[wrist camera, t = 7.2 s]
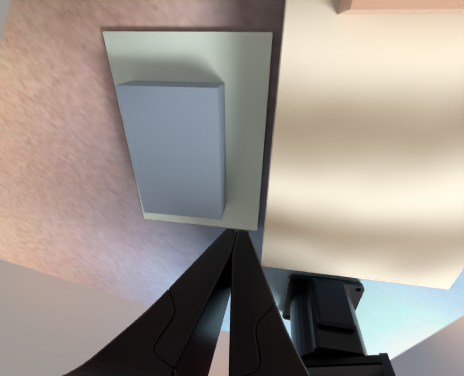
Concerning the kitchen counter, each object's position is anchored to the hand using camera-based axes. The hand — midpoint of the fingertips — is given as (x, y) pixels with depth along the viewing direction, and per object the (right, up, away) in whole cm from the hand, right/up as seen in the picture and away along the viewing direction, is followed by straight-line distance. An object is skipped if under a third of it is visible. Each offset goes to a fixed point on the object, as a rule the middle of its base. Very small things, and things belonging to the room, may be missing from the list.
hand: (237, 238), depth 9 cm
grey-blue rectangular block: (-4, +4, +7) cm, 9 cm away
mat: (-3, +5, +9) cm, 10 cm away
